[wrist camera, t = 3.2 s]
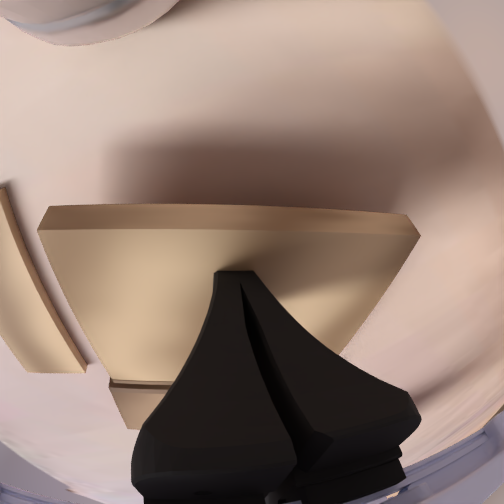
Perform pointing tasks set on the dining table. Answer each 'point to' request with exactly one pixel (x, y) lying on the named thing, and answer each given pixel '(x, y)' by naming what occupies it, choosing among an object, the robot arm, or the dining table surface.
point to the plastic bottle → (82, 18)
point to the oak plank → (206, 264)
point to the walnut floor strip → (136, 401)
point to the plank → (30, 307)
